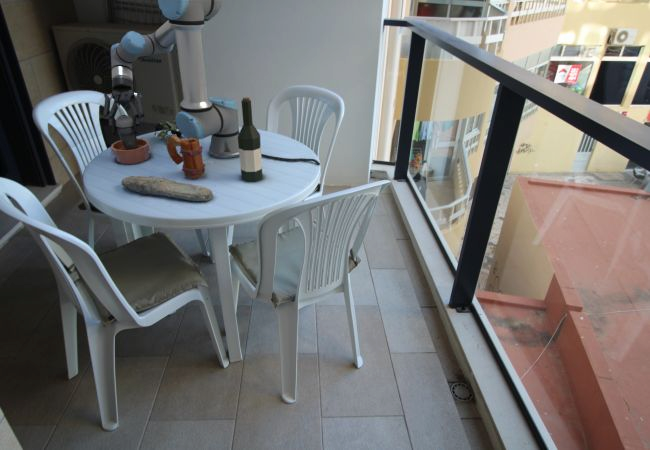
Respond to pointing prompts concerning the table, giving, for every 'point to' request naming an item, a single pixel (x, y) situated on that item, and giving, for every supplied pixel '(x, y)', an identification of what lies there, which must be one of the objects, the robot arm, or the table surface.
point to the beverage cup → (126, 131)
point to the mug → (187, 155)
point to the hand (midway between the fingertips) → (125, 133)
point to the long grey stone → (166, 188)
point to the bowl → (131, 152)
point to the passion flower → (169, 127)
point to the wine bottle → (249, 146)
